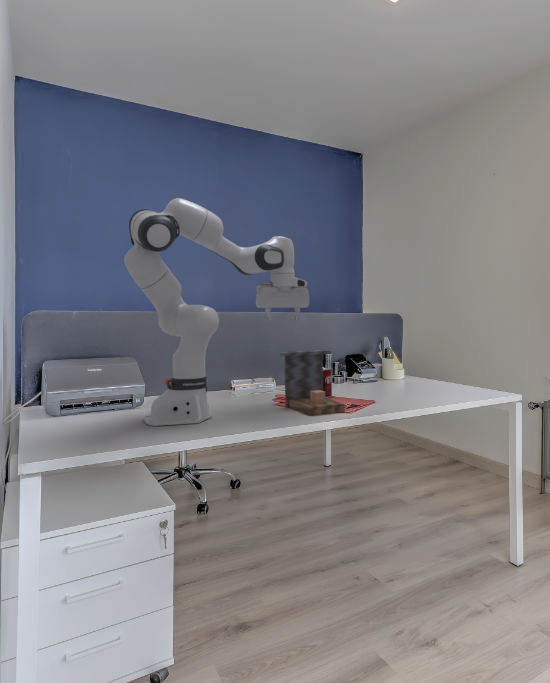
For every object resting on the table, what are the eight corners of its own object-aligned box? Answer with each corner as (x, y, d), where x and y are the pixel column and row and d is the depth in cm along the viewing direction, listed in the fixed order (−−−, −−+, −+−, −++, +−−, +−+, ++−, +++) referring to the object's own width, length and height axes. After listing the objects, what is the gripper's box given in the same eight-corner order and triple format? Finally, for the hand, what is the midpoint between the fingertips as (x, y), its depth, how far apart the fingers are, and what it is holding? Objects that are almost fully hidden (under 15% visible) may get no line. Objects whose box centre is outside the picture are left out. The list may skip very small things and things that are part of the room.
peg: (315, 411, 167) (315, 392, 167) (310, 409, 171) (310, 391, 170) (325, 410, 169) (325, 391, 168) (319, 408, 173) (319, 390, 172)
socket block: (302, 417, 159) (302, 356, 158) (280, 407, 176) (279, 352, 175) (351, 411, 168) (351, 353, 166) (326, 402, 184) (325, 349, 183)
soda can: (331, 395, 199) (331, 367, 198) (332, 398, 192) (332, 369, 191) (314, 395, 200) (314, 367, 199) (314, 398, 193) (314, 369, 192)
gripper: (259, 281, 161) (259, 321, 161) (311, 282, 169) (311, 320, 170) (252, 282, 166) (253, 320, 167) (303, 283, 175) (303, 319, 176)
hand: (283, 320), depth 169 cm, fingers open, 8 cm apart
